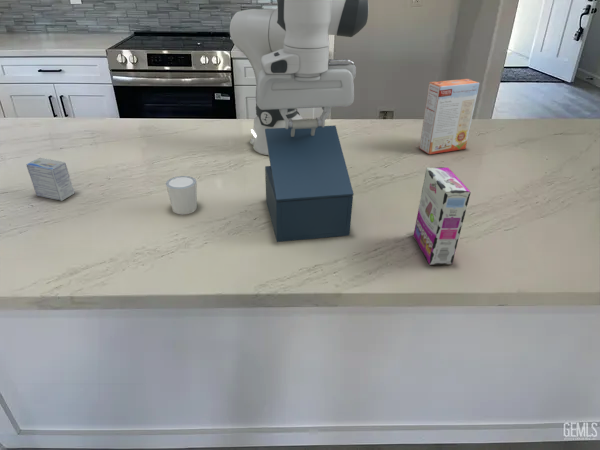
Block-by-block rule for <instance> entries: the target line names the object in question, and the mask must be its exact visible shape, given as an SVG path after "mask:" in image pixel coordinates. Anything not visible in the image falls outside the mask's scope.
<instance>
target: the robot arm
mask: <svg viewBox="0 0 600 450" xmlns="http://www.w3.org/2000/svg"><path fill="white" fill-rule="evenodd" d="M276 4H277V7H276V9H266V8H265V9H263V8H248V9H243V10H239V11H236V12H235V13H234V14H233V16H232V18H231V20H230V23H229V36H230V39H231V41H232V43H233V45H234V46H235V47H236V48H237V49H238V50H240V51H241V53H243V55H244V56H245V57H246V59H247V61H248V62H249V63H250V65H251V68H252V70H253V73H254V79H255V116H256V117H254V118H253V129H250V131H251V134H252V138H251V139H250V141H249V143H250V144H251V146H252V147H253V150H254V151H255V152H257V153H258V154H260V155H265V156H269V153H268V147H267V141H266V135H265V129H271V128H285V129H293V126H292V125H293V121H292V120H295V119H304V117H302V116H301V114H300V113H299V111H298V109H315V108H319V109H320V108H321V110H322V113H321V114H320V116H317V117H315V119H317V120H318V127H317V128H319V127H324V126H326V125H325V122H326V120H327V118H328V117H329V115H330V114H331V108H338V107H339V108H341V107H350V106H351V105H352V104H353V103H354V101H355V84H354V80H355V78H356V74H357V67H356V64H355V62H353V61H351V59H350V58H349V59H348V58H343V59H338V58H333V59H332V58H330V39H329V36H337V37H346V38H353V37H354V36H356V35H357V34H358V33H359V32H361V31H362V30H363V29H364V27H365V26H366V25H367V22H368V17H369V11H370V5H369V0H276Z"/></svg>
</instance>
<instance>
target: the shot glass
mask: <svg viewBox="0 0 600 450" xmlns="http://www.w3.org/2000/svg"><path fill="white" fill-rule="evenodd" d="M197 185H198V184H197V179H196V178H194V177H193V176H189V175H179V176H174V177H171V178H169V179H168V180H166V182H165V186H166V190H167V193H168V198H169V201H170V205H171V210H172V212H173V213H175V214H177V215H188V214H192V213H194V212H195V211H196V210H197V209H198V201H197V200H198V197H197V195H198V193H197V192H198V189H197Z"/></svg>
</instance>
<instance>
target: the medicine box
mask: <svg viewBox="0 0 600 450" xmlns="http://www.w3.org/2000/svg"><path fill="white" fill-rule="evenodd" d="M26 169H27V172H28V174H29V177H30V180H31V183H32V186H33V189H34V191H35V195H36V196H37V197H41V198H47V199H50V200H51V199H52V200H55V201H61V202H63V201H64V200H67V199H68V198H70V197H72V196H73V195H74V194H75V189H74V186H73V183H72V179H71V177H70V173H69V170H68V166H67V163H66V162H65V161H60V160H56V159H51V158H45V157H39V158H36V159H34V160H32V161H30V162H28V163H26Z"/></svg>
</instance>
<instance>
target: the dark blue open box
mask: <svg viewBox="0 0 600 450" xmlns="http://www.w3.org/2000/svg"><path fill="white" fill-rule="evenodd" d="M264 172H265V173H264V174H265V175H264V177H265V203H266V207H267V211H268V214H269V218H270V221H271V225H272V229H273V233H274V236H275V240H276V241H275V242H276V243H282V242H293V241H302V240H313V239H325V238H326V239H327V238H335V237H336V238H337V237H346V236H347V237H348V236H350V235H351V225H352V212H353V201H354V195H353V196H345V197H332V198H319V199H306V200H292V201H279V202H276V197H275V191H274V185H273V178H272V172H271V166H270V165H265V167H264Z"/></svg>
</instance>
